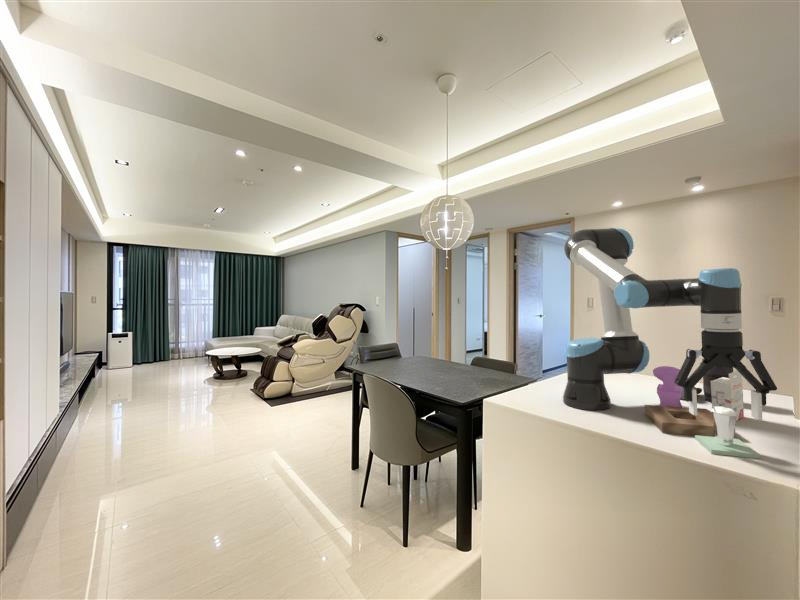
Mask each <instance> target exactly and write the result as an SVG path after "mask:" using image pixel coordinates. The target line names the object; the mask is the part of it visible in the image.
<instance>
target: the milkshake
mask: <svg viewBox="0 0 800 600" xmlns="http://www.w3.org/2000/svg"><path fill="white" fill-rule="evenodd" d="M712 407H713V408H712ZM710 412H712V417H713V424H714V432H715V441H716V443H718V444H720V445H723V446H733V441H734V428H735V429H736V422H737V421H736V412H735V411H734V410H732V409H730V408H725V407H722V406H720V407H719V406H715V407H714V405H712V404H711V410H710Z"/></svg>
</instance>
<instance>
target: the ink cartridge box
mask: <svg viewBox="0 0 800 600" xmlns="http://www.w3.org/2000/svg"><path fill="white" fill-rule="evenodd" d="M735 376H736V377H735ZM710 382H711V397H712V403H711V409H712V408H713V407H712V405H714V407H715V406H719V407H720V406H722V407H725V408H730V409H732V410H734V411H735V412H736V421H735V422H737V421H739V420H741V419H743V418H744V415H745V413H744V412H745V409H744V389H743V388H744V386H743V385H744V384H743V376H742V375H741V374H740V373H739V372H738V371H737V370H735V371H733V372H732V373H729V378H725V377H722V378H719V379H716V380H713V381H710Z"/></svg>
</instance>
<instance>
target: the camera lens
mask: <svg viewBox="0 0 800 600" xmlns="http://www.w3.org/2000/svg"><path fill="white" fill-rule="evenodd" d="M703 360H704V358H703V357H702V361H703ZM702 361H701V362H702ZM732 372H734V367H733V368H727V367H721V368H717V367H713V368H712V369H710V370H709V371H708V372H707V373H706V374H705V375H704V376H703V377H702V383H703V384H702V386H703V388H702V391H703V395H704V397H705V401H706V402H709V403H711V404H712V397H711V382H710V381H713V380H716V379H719V378H722V377H725V378H729V373H732Z"/></svg>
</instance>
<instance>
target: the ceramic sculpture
mask: <svg viewBox="0 0 800 600" xmlns="http://www.w3.org/2000/svg"><path fill="white" fill-rule="evenodd" d="M688 378H689V377H688ZM688 378H687V379H688ZM674 386H679V385H677V384H676V383H675V385H674ZM695 386H696V385H695ZM695 386H694V387H693V388H694V389H695V390H696V392H697V395H700V394H701V393H703V388H701V387H695ZM682 390H683V391H682V394H681V398H680V400H685V398H684V388H683V387H682Z"/></svg>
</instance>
